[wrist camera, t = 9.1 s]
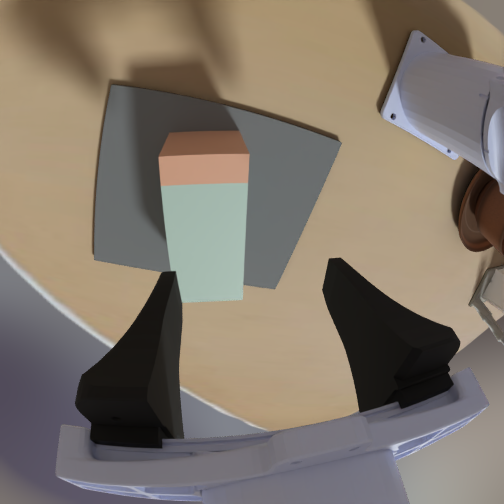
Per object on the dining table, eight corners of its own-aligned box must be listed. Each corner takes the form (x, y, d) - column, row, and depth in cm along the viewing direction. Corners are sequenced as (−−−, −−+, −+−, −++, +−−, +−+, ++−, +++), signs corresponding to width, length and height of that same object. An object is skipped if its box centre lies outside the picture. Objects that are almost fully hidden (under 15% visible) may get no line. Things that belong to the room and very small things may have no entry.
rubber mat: (339, 141, 20) (341, 142, 20) (274, 286, 28) (275, 289, 27) (113, 84, 16) (111, 84, 15) (95, 257, 23) (94, 260, 23)
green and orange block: (235, 255, 24) (242, 299, 20) (179, 257, 24) (176, 302, 20) (239, 130, 18) (249, 153, 15) (169, 132, 18) (158, 156, 14)
